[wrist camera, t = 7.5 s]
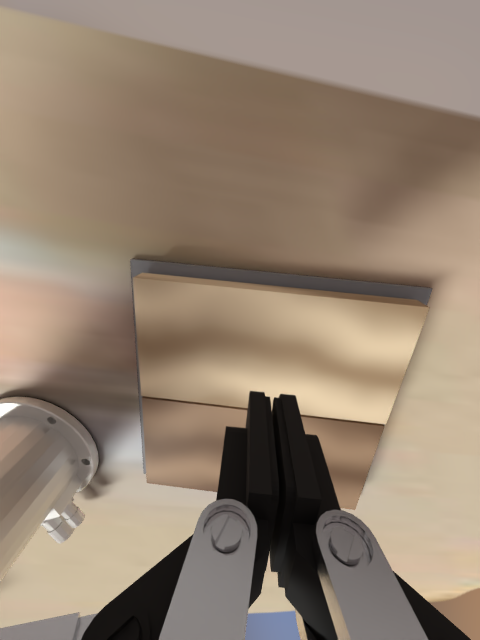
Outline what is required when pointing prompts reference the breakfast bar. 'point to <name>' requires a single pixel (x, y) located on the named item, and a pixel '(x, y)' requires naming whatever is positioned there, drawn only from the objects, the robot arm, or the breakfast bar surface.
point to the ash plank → (273, 345)
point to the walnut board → (211, 420)
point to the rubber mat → (267, 279)
